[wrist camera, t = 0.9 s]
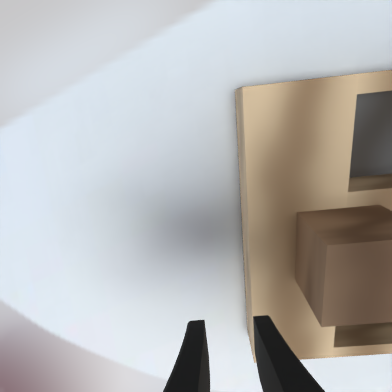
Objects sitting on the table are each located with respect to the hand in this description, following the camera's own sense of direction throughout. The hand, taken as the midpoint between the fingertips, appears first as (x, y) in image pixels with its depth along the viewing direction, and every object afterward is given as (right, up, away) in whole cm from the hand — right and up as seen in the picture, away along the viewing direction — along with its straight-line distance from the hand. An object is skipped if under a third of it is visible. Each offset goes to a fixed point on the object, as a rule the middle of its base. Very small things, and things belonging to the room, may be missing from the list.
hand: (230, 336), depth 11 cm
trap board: (+11, +4, +8) cm, 14 cm away
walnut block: (+7, +3, +6) cm, 10 cm away
